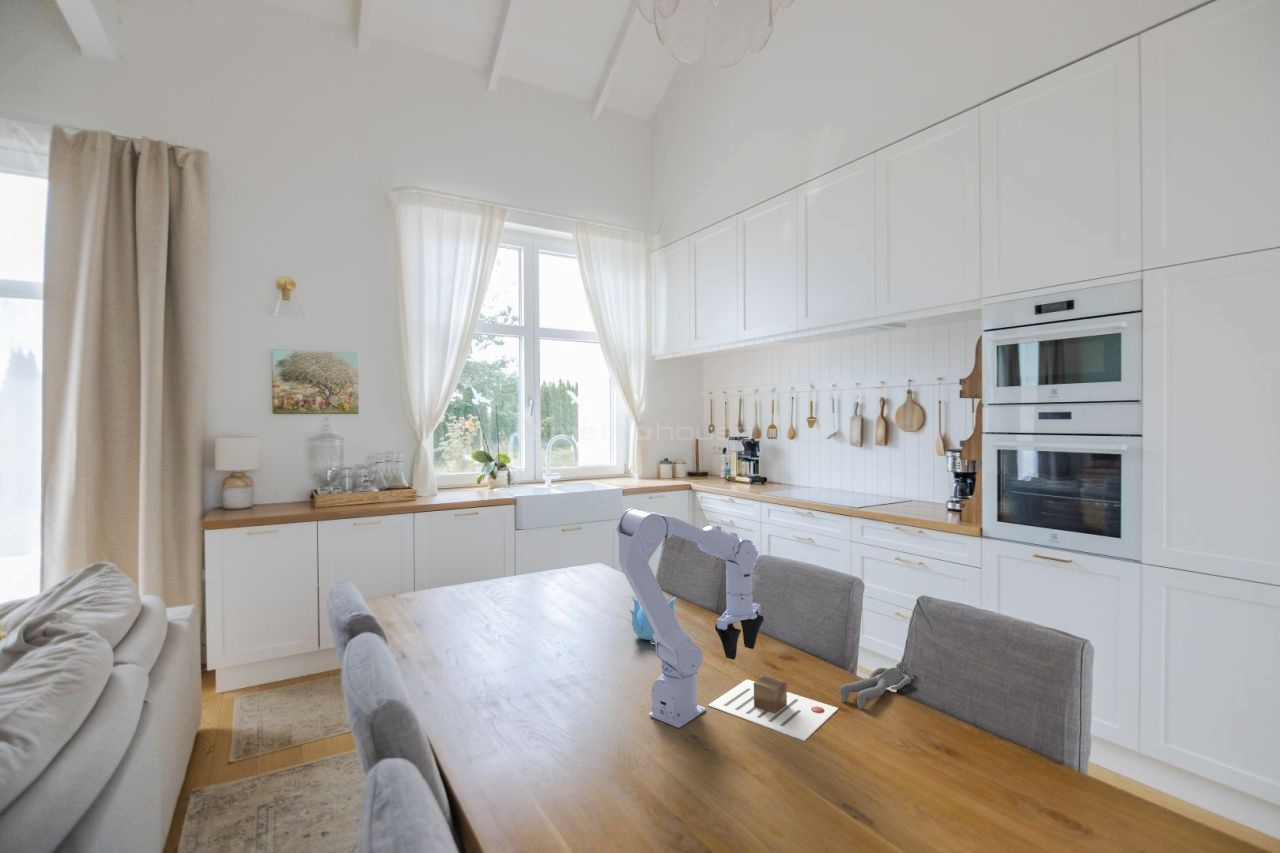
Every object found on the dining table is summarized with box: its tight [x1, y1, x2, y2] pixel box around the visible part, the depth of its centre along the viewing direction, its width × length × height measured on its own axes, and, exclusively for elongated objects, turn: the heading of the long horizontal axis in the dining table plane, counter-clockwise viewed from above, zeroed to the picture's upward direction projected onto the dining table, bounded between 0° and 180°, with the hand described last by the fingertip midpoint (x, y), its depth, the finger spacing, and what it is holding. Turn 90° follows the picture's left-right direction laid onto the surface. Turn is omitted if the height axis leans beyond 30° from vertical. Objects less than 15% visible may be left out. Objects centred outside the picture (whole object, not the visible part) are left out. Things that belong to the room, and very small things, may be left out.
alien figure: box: [839, 661, 914, 711], centre depth 133 cm, size 8×5×25 cm
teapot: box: [628, 596, 677, 644], centre depth 166 cm, size 13×13×10 cm
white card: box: [707, 679, 839, 742], centre depth 125 cm, size 16×22×1 cm
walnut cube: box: [754, 674, 788, 714], centre depth 126 cm, size 5×5×5 cm
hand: (740, 652), depth 131 cm, fingers open, 7 cm apart
